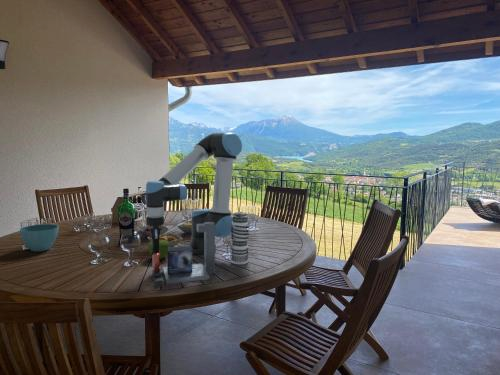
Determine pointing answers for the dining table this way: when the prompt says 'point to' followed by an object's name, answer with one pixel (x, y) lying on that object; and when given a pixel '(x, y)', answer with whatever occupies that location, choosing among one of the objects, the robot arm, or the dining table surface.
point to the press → (197, 269)
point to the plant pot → (39, 236)
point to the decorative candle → (239, 238)
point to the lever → (157, 265)
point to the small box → (179, 260)
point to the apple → (160, 248)
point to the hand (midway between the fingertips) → (155, 267)
